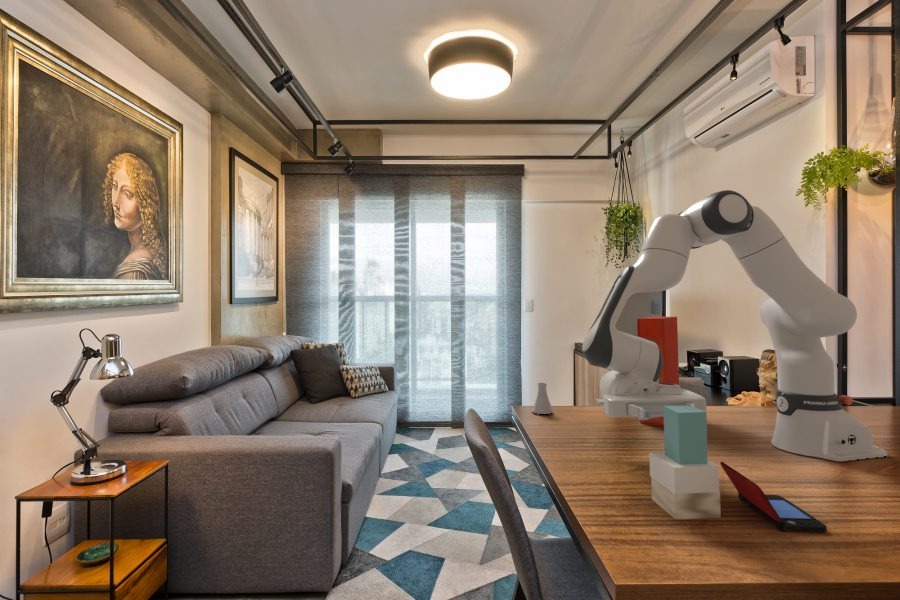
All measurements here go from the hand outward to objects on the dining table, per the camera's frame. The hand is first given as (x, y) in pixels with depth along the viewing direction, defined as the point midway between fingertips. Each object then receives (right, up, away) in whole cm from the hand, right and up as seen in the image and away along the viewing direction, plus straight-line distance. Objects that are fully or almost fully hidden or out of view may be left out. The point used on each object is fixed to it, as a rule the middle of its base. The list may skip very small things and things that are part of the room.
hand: (671, 414), depth 85 cm
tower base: (0, -16, -6) cm, 17 cm away
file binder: (+24, -16, +55) cm, 62 cm away
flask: (-11, -17, +64) cm, 67 cm away
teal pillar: (0, -7, -5) cm, 9 cm away
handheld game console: (+13, -16, -8) cm, 22 cm away
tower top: (0, -11, -5) cm, 12 cm away
